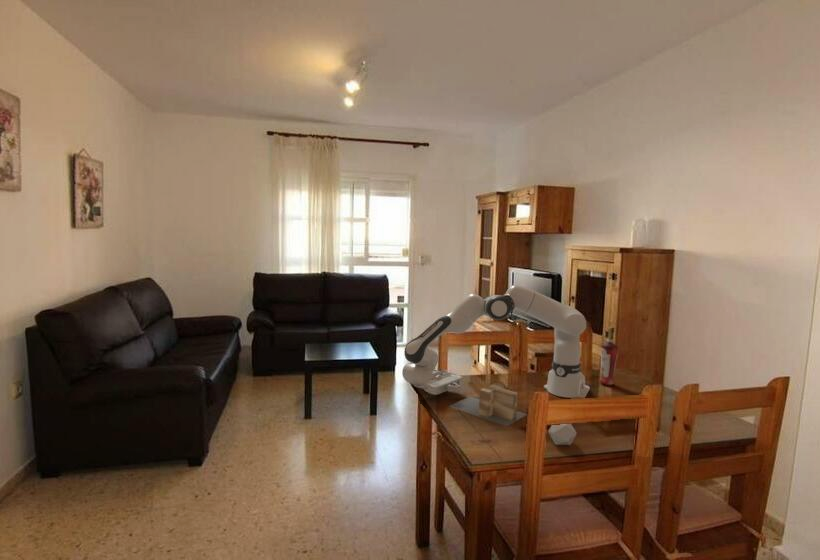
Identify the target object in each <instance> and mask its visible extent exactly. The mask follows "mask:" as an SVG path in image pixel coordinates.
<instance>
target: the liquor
mask: <svg viewBox="0 0 820 560" xmlns="http://www.w3.org/2000/svg"><path fill="white" fill-rule="evenodd" d="M607 327H608V328H607V332H608V334H607V339H606V342H605V343H602V344H601V352H600V356H601V357H600V375H599V377H600V378H599V380H598V381H599V382H600V384H601V383H602V385H603V384H605V385H604V386H606V385H611V386H613V385H614V384H615V381H614V380H615V372H616V364H617V359H618V349H619V346H618V344H617V345H616V344H615V343H614V333H615V327H614V326H607Z"/></svg>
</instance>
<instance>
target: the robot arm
mask: <svg viewBox="0 0 820 560" xmlns="http://www.w3.org/2000/svg"><path fill="white" fill-rule="evenodd" d="M513 310H516V311H519V312H521V313H523V314H525V315H527V316H529V317H532V318H534V319H537V320H538V321H540V322H542V323H544V324H547V325H548V326H550V327H552V328H553V329H554V330H553V331H554V333H553V335H554V337H553V339H554V347H553V348H554V349H553V359H552V362H551V369H550V370H549V371H548V376H547V382H546V384H544V385H543V388H544V389H545V390H547V392H548V393H550V394H552V395H554V396H557V397H560V398H561V397H562V398H567V399H568V398H569V399H572V398H573V399H574V398H578V399H579V398H580V399H581V398H582V399H584V398H586V396H587V394H588V393H589V391H590V386H589V385H586V377H585V375H584V374H583V373H582V372H581V369H582V368H581V367H582V366H583V361H580V358H581V341H580V340H581V339H580V335H581V334H583V333H584V332H585V331H586V328H587V320H586V317H585V316H584V315H583V313H581V312H580V311H579V310H578V309H576V308H574V307H573V306H571V305H566V304H563V303H562V302H560V301H557V300H555V299H553V298H551V297H549V296H546V295H544V294H542V293H540V292H538V291H536V290H533V289H532V288H528V287H526V286H522V285H517V284H513V285H511V286H509V287H508V288H507V290H506V292H505V293H504V294H502V295H501V294H500V295H499V294H493V295H489V296H486V297H484V298H483V297H481V296H480V295H478V294H476V293H470V294H468V295H467V296H466V297H465V298H463V299H462V300H461V301H460V302H459V303H458V304H457V305H455V307H454V308H453V309H452V310H451V311H450V312H449V313H447V314H445V315H443V316H441V317H439V318H438V319H436V320H435V321H434V322H433V323H432V324H431V325H429V326H428V327H427V328H426V329H425V330H424V331H423V332H422V333H420V334H419V335H418V336H417V337H415V338H413V339H411V340H410V341H408V343H406V345H405V348H404V357H405V359H406V360H407V361H408V363H405V365H404V366H403V367H402V370H401V371H402V373H401V374H402V377H403V380H404V381H406V382H407V383H408V384H411V385H413V386H415V387H420V388H421V389H424V391H425V392H427V393H428V394H431V395H433V396H437V395H440V394H442V393H445V392H447V391H453V392H458V391H461V390H462V385H463V383H464V382H463V379H464V377H463V376H461V375H460V374H457V373H453V372H448V370H446V369H438V370H437V369H436V366H437V365H438V363H439V354H438V352H436V350H434V349H433V348H431V347H429V346H430V345H431V344H432V343H433V342H434V341H436V340H437V339H438V338H439V337H440V336H442V335H444V334H447V333H449V334H450V333H452V334H464V333H466V332H467V331H469V329H470V328H471V327H473V325H474V324H475V322H476V321H478V320H479V319H480V318H481V317H482V316H487V317H489V318H490V319H492V320H494V321H502V320H504V319H506V318H507V317H508V316H509V315H510V314H511V313H512V312H513Z"/></svg>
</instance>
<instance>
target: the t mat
mask: <svg viewBox="0 0 820 560" xmlns="http://www.w3.org/2000/svg"><path fill="white" fill-rule="evenodd" d="M479 400H480V398H476V397H474V396H467V397H466V398H464V399H461V400H459V401H457V402H455V403H453V404H449V405H448V408H451V409H455V410H456V411H457V410H458V411H460V412H462V413H463V412H464V413H466V414H469V415H472V416H475V417H479V418H480V419H484V420H486V421H490V422H493V423H496V424H499V425H501V426H504V427H509V426H510V425H513V424H514V423H515V422H517V421H519V420H520V419H522V418H524V417H526V416H528V413H524V412H522V411H518V410H517V412H516V418H515V419H513V420H508V419H505V418H502V417H499V416H496V415H491V416H489V417H485V416H482V415H479Z"/></svg>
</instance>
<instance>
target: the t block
mask: <svg viewBox="0 0 820 560" xmlns="http://www.w3.org/2000/svg"><path fill="white" fill-rule="evenodd" d="M479 399H480V400H479V415H482V416H485V417H489V416H491V415H496V416H499V417H502V418H505V419H508V420H513V419H515V418H516V412H517V411H518V392H516V391H513V390H509V389H506V388H505V385H504V384H501V383H499V382H494V383H492V384H490V385H488V386H485V387H483V388H481V389H480V390H479Z"/></svg>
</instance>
